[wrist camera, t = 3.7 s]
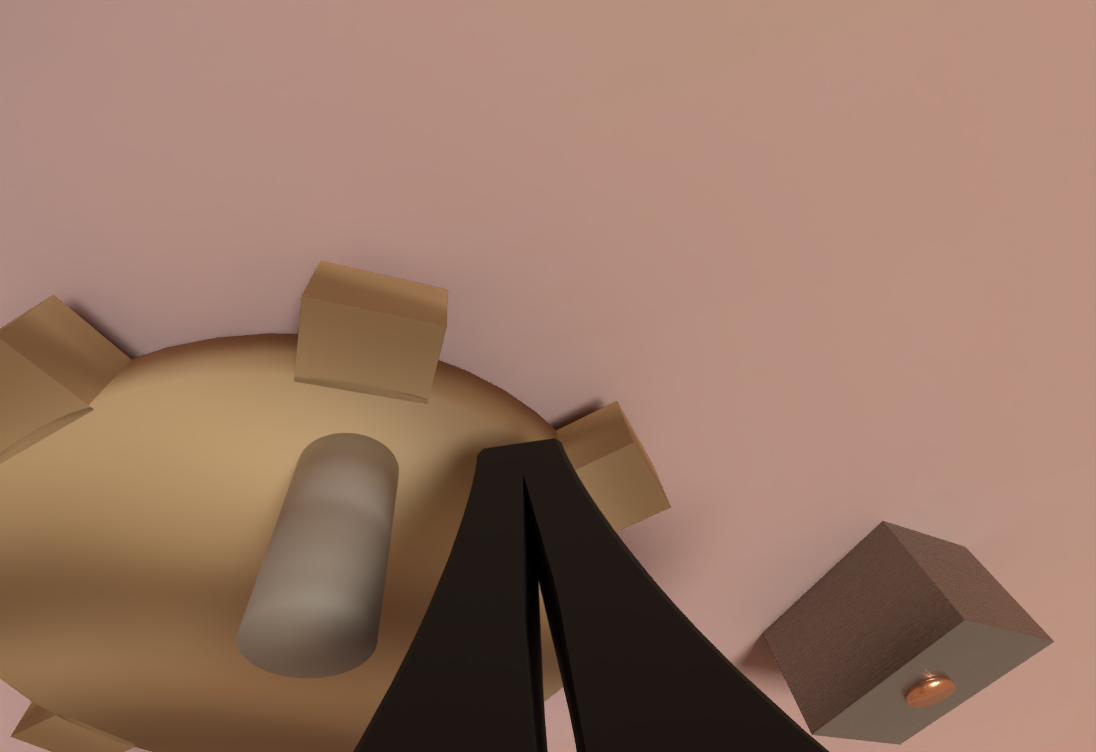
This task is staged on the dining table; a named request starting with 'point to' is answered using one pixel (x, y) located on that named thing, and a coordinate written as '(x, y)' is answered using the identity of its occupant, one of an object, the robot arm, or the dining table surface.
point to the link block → (898, 637)
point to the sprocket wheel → (249, 518)
